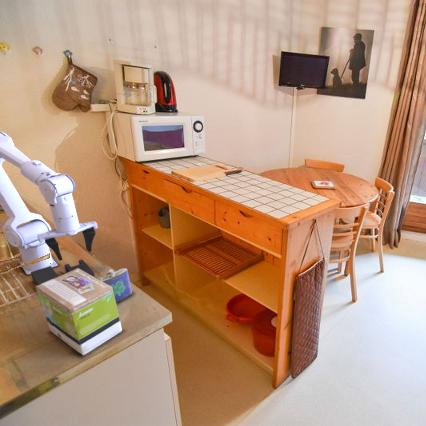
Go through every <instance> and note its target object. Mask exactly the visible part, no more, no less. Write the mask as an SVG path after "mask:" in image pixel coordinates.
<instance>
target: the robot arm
mask: <svg viewBox="0 0 426 426" xmlns="http://www.w3.org/2000/svg"><path fill="white" fill-rule="evenodd" d="M5 161H6V162H8V163H10V164H12V166H15V167H16V168H18V169H19V170H20V171H19V172H20V175H21V176H22V177H24V178H25V179H27V180H28V181H30V182H31V183H32V184H34V185H36V186H37V187H38V190H39V192H40V193H41V195H42V197H44V201H45V202H46V204H48V206H49V209H50V213H51V216H52V221H53V224H54V227H55V228H53V229H52V227H51V226H50V224H49V222H47V221H46V220H45V219H44V217H43V216H42V215H41V214H38V213H34V212H31V211H30V210H29V208H28V207H27V206H26V204H25V202H24V201H23V199H22V198H21V196H20V194H19V193H18V191H17V189H16V187H15V186H14V184H13V183H12V181H11V179H10V177H9V176H8V173H6V171H5V169H4V167H3V163H4V162H5ZM75 190H76V184H75V182H74V179H73V178H72V177H71V176H69V174H67V173H61V172H56V171H55V170H53V169H51V168H50V167H48V166H47V165H46V164H44V163H43V162H41V161H40V160H37V159H34V160H33V159H32V160H31V158H29V157H28V156H27V155H26V154H24V152H22V151H21V150H19V149H18V148H17V147H16V146H15V144H14V141H13V139H12V137H10V136H9V135H8V133H6V132H4V131H0V206H1V208H2V209H3V211H4V213H5V214H6V215H7V217H8V219H7V221H6V222H5V223H4V225H3V226H2V230H3V232H4V234H5V239H6V241H7V242H8V243H9V244H10V245H11V246H12V247H15V248H18V251H19V255H20V257H21V261H20V262H19V264H20V265H21V264H23V263H27V262H31V261H33V260H35V259H37V258H40V257H42V256H45V255H47V254H49V253H50V258H49V259H46V260H43V261H40V262H38V263H35V264H32V265H28V266H25V267H22V266H21V267H22V269H23V271H24V272H25V274H26V275H31V272H33V271H36V270H39V269H43V268H46V267H49V266H51V267H52V268H54V267H57V266H58V263H57V261H55V259H54V258H53V257H52V256H53V255H52V253H51V250H52V251H53V252H54V254H55V256H56V258H57V260H58V261H60V262H61V261H63V256H62V254H61V251H60V245H59V242H58V241H57V239H58V238H62V237H66V236H68V237H69V236H70V237H71V236H75V235H78V233H82V236H83V240H84V244H85V249H86V251H88V252H89V253H91V252H92V249H93V247H92V246H93V241H94V239H95V236H96V230H97V229H99V227H98V223H97V222H96V221H95V220H93V221H88V222H80V221H79V217H78V213H77V210H76V205H75V200H74V197H73V193H74V192H75ZM50 263H51V264H50Z"/></svg>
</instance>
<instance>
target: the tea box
mask: <svg viewBox="0 0 426 426" xmlns="http://www.w3.org/2000/svg"><path fill="white" fill-rule="evenodd" d="M58 276H59V277H56V278H54V279H52V280H49V281H47V282H45V283H42V284H40V285H38V286H36V285H35V290H36V294H37V297H38V299H39V302H40V306H41V308H42V310H43V313H44V316H45V319H46V320H47V325H48V328H49V330H50V332H52V333H53V334H54V335H55V336H57V337H58V338H59V339H60V340H62V341H63V342H64V343H66V344H67V345H68V346H69V347H71V348H73V349H74V350H75V351H76V352H77V353H79V354H81V355H82V356H85V355H87V354H88V353H90V352H92V351H94V350H95V349H97V348H98V347H99V346H101V345H103V344H104V343H106V342H107V341H109V340H110V339H112V338H113V337H115V336H117V335H119V334H120V333H122V331H123V328H122V323H121V319H120V314H119V310H118V306H117V304H116V301H115V297H114V292H113V288H112V287H111V286H109V285H107V284H106V283H104V282H102V281H100V280H98V279H97V278H98V277H97V278H96V277H93V276H91V275H90V274H88V273H86V272H84V271H82V270H81V269H79V268H77V269H75V270H73V271H70V272H68V273H66V272H65V273H63V274H61V275H58Z"/></svg>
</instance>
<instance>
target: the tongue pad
mask: <svg viewBox="0 0 426 426" xmlns="http://www.w3.org/2000/svg"><path fill="white" fill-rule="evenodd" d="M30 276H31V278H32V282H33V284H35V286H38V285H40V284H42V283H45V282H47V281H49V280H52V279H54V278H56V277H59V276H60V275H58V273H57V272H56V271H55V269H54V267H51V266H49V267H46V268H43V269H39V270H36V271H33V272H31V274H30Z"/></svg>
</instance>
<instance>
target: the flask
mask: <svg viewBox="0 0 426 426" xmlns="http://www.w3.org/2000/svg"><path fill="white" fill-rule="evenodd" d="M129 276H130V275H129V271H128V269H127V268H126V267H125V268H124V267H122V268H120V269H118V270H116V271H115V270H113V269H112V268H110V269H108V272H107V273H106V275H103V276H101V277H100V276H98V277H97V279H98V280H100V281H102V282H104V283H106V284H107V285H109V286H111V287H112V288H113V292H114V297H115V301H116V305H117V304H119V303H121V302H122V301H125V300H126V299H128V298H129V297H131V296H132V294H133V290H132V285H131V279H130V277H129Z"/></svg>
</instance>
